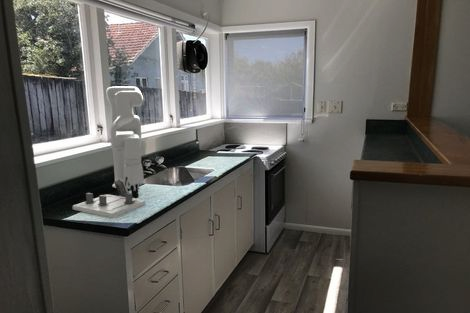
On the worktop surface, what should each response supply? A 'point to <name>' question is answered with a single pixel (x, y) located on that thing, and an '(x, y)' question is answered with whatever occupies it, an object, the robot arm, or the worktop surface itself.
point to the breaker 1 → (89, 198)
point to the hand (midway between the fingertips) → (135, 197)
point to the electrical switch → (121, 187)
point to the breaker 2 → (102, 200)
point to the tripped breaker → (128, 198)
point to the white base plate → (109, 206)
